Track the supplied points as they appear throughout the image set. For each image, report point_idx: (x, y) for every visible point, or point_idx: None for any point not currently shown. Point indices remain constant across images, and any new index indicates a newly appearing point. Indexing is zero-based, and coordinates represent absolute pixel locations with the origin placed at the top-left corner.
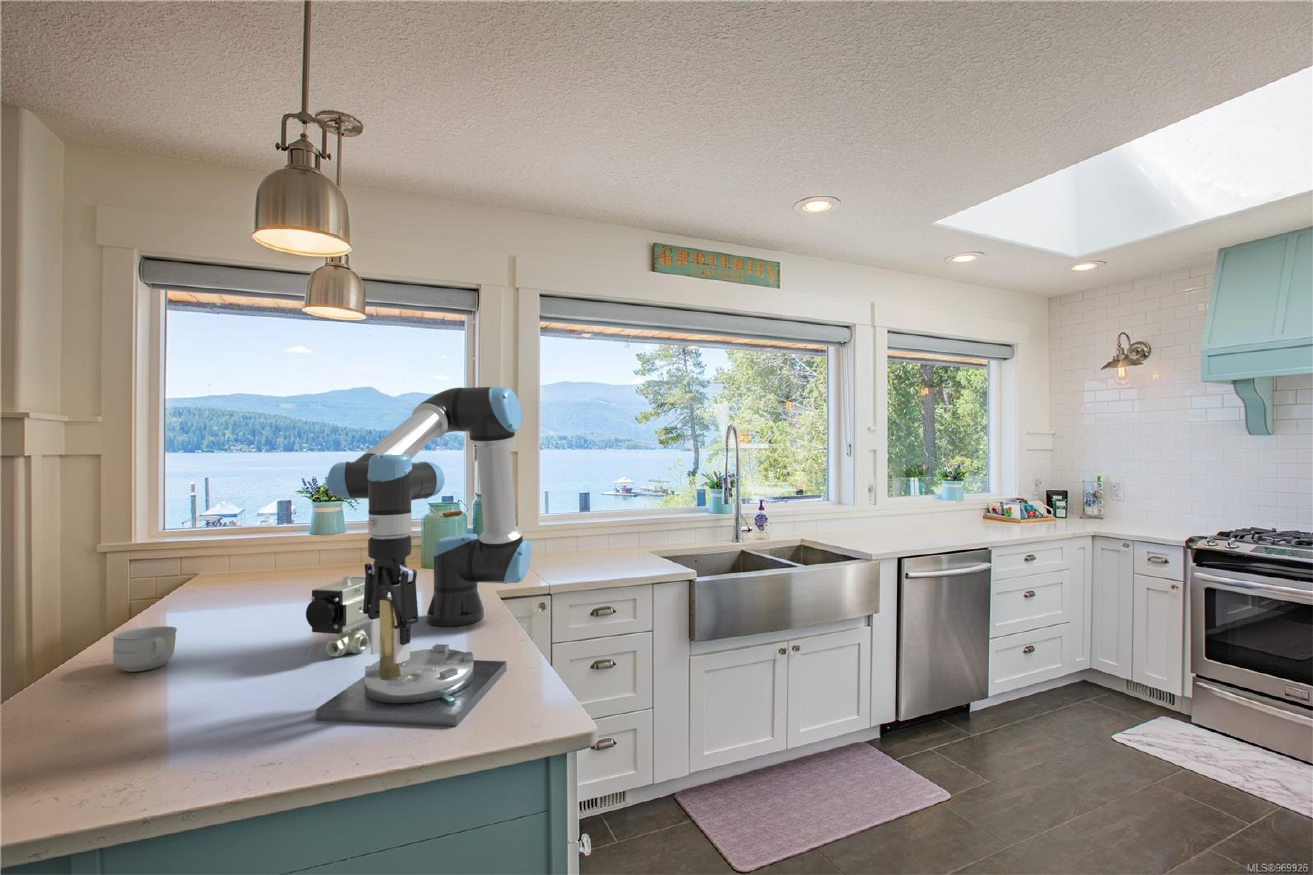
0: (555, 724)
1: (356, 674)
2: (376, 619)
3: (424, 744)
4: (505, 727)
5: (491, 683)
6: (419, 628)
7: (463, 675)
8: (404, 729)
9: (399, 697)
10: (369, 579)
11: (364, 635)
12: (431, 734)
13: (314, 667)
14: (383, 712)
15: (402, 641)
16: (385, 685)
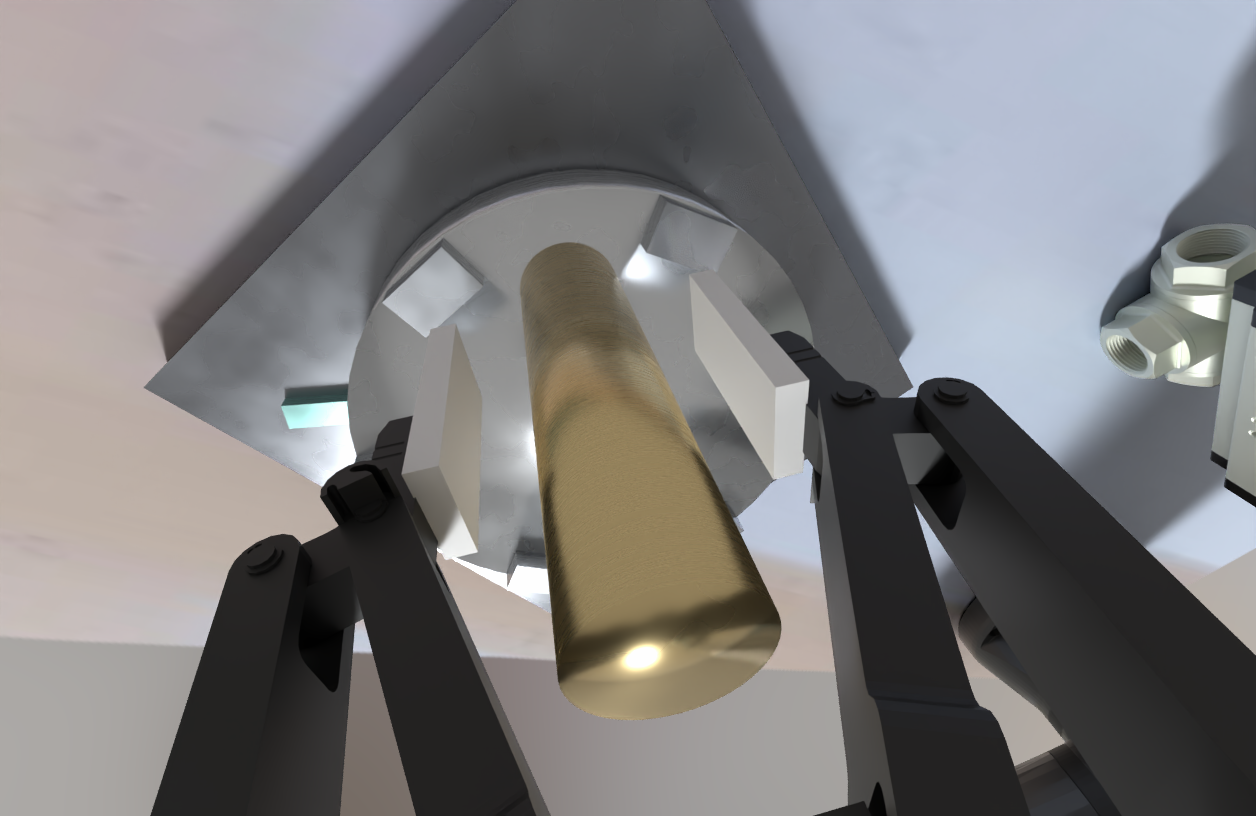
0: (25, 585)
1: (949, 248)
2: (785, 417)
3: (19, 205)
4: (71, 478)
5: None
6: None
7: None
8: (247, 197)
9: (403, 260)
10: (1212, 751)
11: (1156, 372)
12: (128, 265)
13: (1174, 141)
14: (364, 160)
15: (387, 435)
16: (455, 231)
